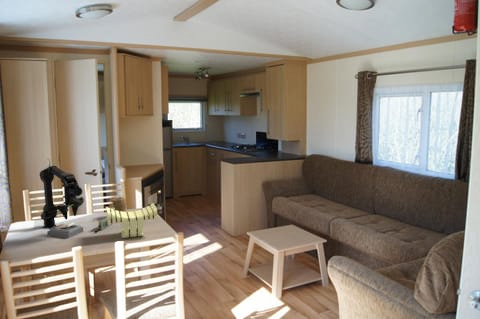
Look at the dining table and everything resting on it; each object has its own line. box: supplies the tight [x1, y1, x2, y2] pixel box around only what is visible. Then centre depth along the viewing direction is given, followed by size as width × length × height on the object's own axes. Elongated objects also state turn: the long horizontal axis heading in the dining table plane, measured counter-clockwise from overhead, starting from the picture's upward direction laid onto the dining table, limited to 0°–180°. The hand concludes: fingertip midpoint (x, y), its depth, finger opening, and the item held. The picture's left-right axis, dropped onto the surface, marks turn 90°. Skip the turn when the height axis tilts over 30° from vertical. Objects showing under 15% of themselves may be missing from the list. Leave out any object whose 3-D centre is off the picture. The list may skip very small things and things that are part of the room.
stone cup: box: [111, 196, 129, 218], centre depth 297 cm, size 15×12×15 cm
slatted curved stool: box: [105, 202, 158, 239], centre depth 258 cm, size 30×16×18 cm, turn 110°
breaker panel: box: [47, 223, 84, 239], centre depth 261 cm, size 16×14×4 cm
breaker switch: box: [56, 221, 76, 229], centre depth 261 cm, size 10×6×1 cm, turn 73°
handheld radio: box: [94, 213, 117, 233], centre depth 274 cm, size 7×3×25 cm
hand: (70, 217), depth 259 cm, fingers open, 8 cm apart
